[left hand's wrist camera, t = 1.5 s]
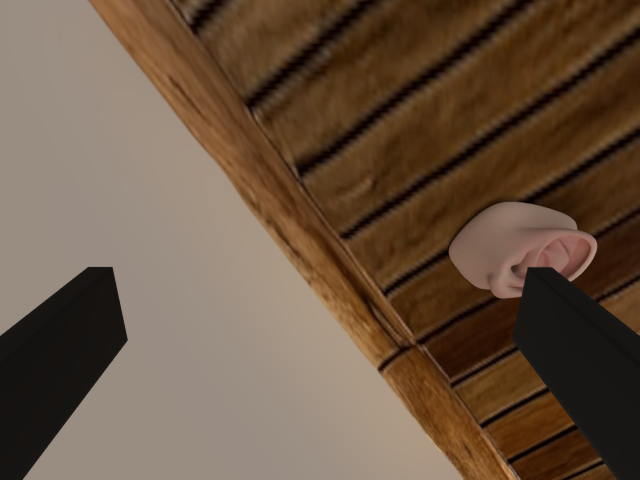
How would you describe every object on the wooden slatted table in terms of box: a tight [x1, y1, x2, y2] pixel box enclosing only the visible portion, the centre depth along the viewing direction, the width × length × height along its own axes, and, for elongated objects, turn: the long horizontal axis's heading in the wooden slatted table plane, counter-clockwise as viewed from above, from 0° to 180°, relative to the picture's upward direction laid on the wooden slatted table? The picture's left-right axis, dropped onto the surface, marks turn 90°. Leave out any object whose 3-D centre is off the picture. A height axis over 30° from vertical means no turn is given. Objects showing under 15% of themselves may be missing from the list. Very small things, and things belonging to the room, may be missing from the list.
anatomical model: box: [449, 202, 597, 298], centre depth 43 cm, size 13×4×12 cm
